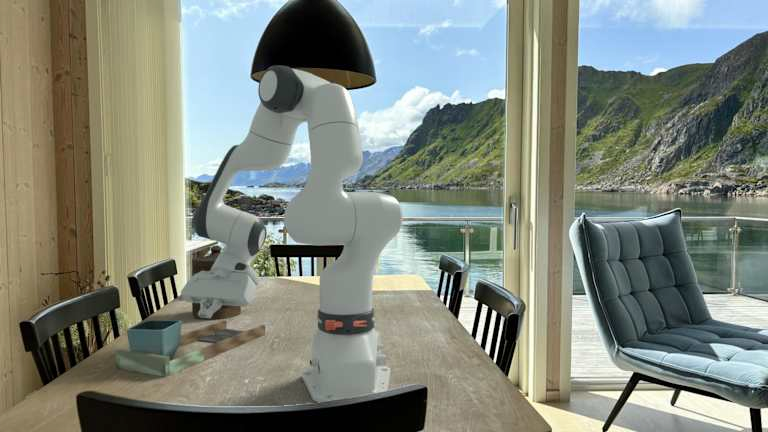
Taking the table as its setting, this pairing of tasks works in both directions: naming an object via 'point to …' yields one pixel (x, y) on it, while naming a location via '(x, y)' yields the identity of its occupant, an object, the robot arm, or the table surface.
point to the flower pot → (155, 337)
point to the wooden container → (205, 265)
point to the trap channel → (165, 367)
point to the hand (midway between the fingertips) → (203, 316)
